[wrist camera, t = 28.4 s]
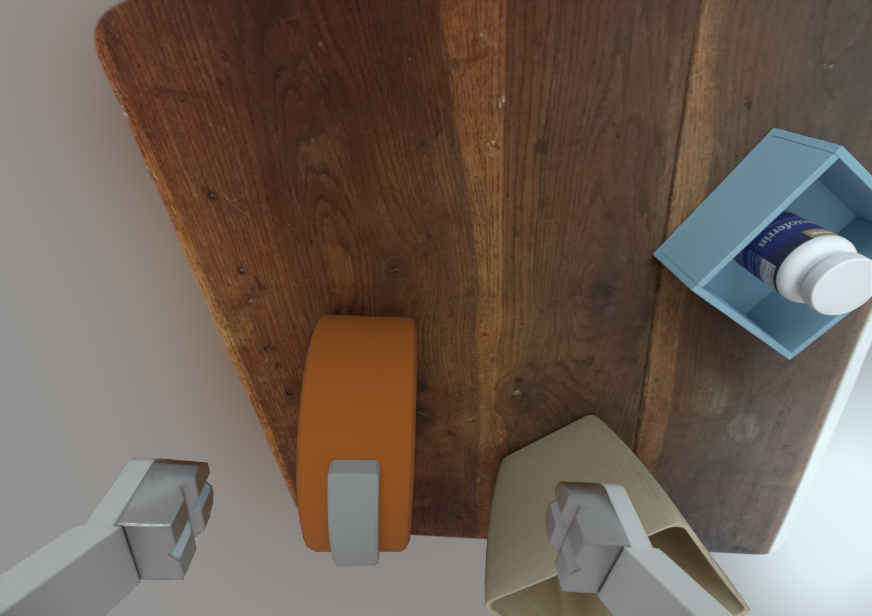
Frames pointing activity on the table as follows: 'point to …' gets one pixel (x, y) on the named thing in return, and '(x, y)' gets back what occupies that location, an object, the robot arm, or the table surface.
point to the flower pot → (526, 523)
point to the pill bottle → (809, 265)
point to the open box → (751, 213)
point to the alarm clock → (357, 437)
